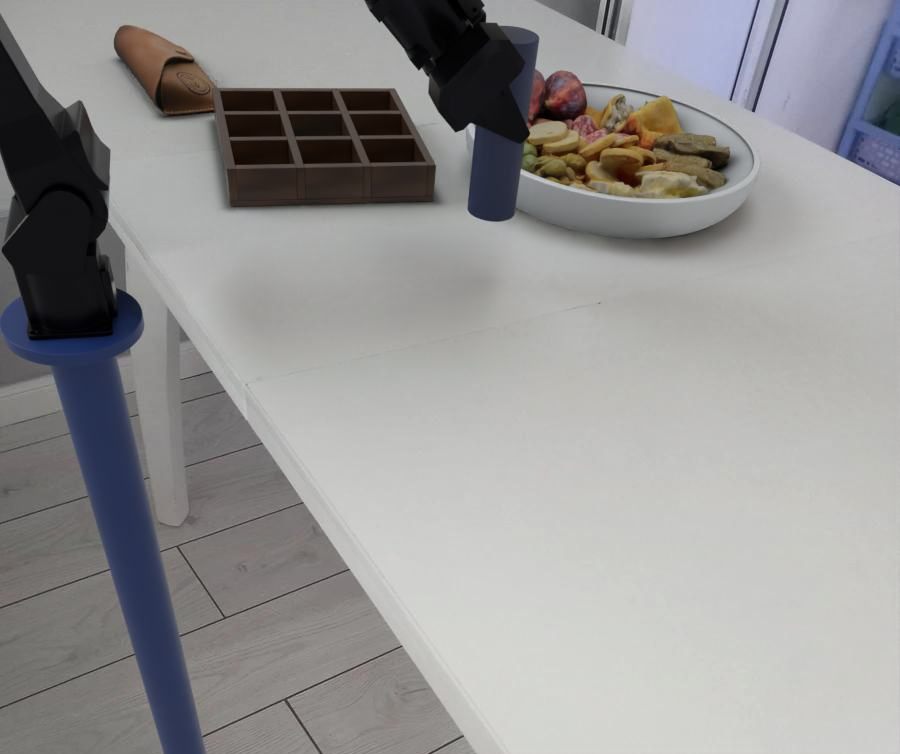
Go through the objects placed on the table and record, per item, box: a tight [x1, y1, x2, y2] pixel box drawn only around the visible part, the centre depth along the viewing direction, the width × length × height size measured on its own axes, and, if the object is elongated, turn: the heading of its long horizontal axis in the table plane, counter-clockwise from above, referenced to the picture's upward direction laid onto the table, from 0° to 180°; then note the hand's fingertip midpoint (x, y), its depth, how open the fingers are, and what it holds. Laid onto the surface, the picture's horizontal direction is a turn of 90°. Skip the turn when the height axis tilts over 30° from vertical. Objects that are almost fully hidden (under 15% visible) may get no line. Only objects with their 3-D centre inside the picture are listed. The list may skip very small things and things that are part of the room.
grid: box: [212, 87, 437, 207], centre depth 91 cm, size 20×20×4 cm
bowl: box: [465, 68, 762, 239], centre depth 91 cm, size 30×30×8 cm
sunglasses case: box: [113, 24, 218, 116], centre depth 101 cm, size 18×7×7 cm
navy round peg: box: [466, 25, 540, 223], centre depth 70 cm, size 4×4×13 cm
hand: (517, 127), depth 70 cm, fingers closed on navy round peg, 4 cm apart
